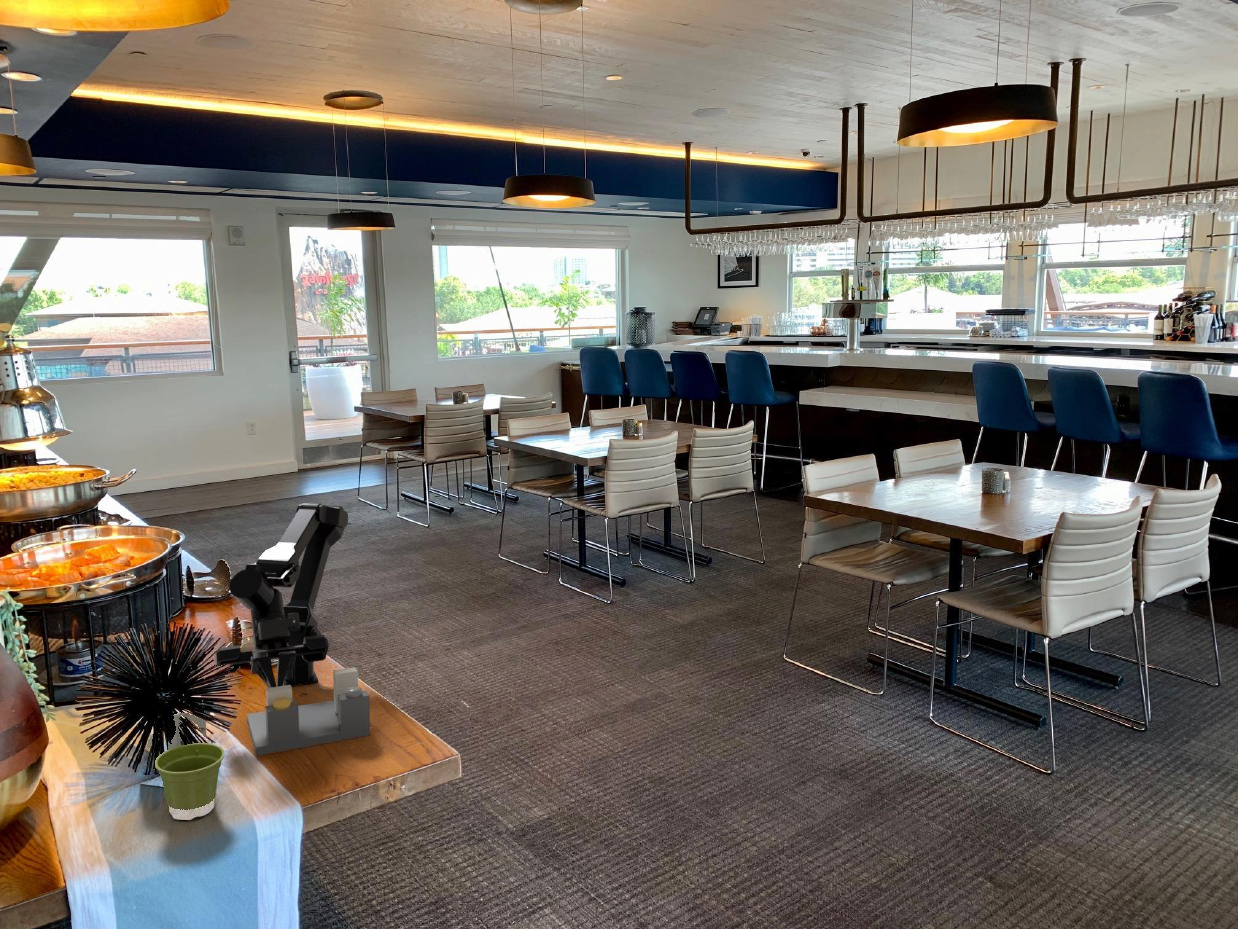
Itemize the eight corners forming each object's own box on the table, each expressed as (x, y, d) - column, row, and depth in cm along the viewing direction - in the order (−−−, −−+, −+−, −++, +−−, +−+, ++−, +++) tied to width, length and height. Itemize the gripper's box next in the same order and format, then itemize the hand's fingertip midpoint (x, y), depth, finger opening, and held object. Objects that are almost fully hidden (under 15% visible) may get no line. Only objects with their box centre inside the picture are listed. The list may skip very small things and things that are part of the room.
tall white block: (267, 729, 160) (266, 688, 159) (291, 725, 162) (290, 684, 160) (268, 734, 158) (267, 692, 157) (293, 730, 160) (292, 689, 159)
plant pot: (180, 792, 142) (178, 740, 141) (238, 797, 141) (236, 745, 140) (143, 825, 133) (140, 769, 132) (205, 831, 132) (202, 775, 131)
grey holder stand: (247, 722, 167) (245, 677, 165) (353, 704, 175) (352, 662, 174) (256, 756, 154) (254, 708, 153) (370, 735, 163) (369, 690, 162)
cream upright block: (334, 709, 169) (333, 670, 167) (356, 705, 170) (355, 667, 169) (336, 713, 167) (335, 674, 166) (358, 710, 169) (357, 671, 167)
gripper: (214, 604, 158) (221, 689, 150) (325, 592, 166) (338, 672, 158) (212, 633, 166) (219, 715, 158) (319, 620, 174) (330, 697, 167)
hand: (278, 699), depth 160 cm, fingers closed, pressing on tall white block
